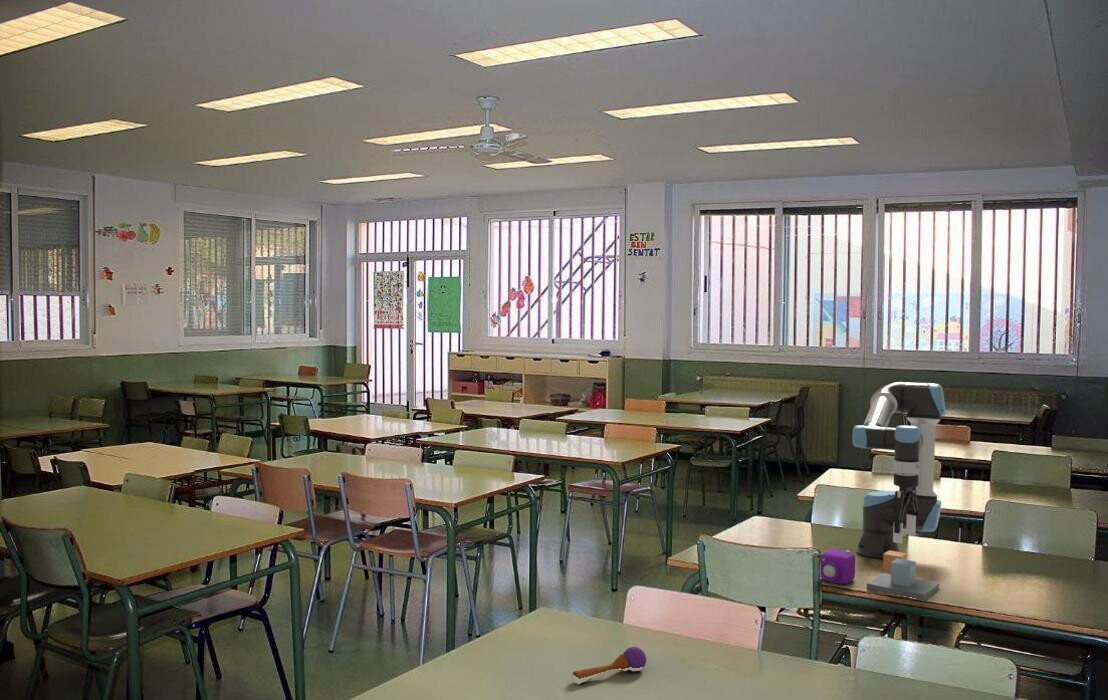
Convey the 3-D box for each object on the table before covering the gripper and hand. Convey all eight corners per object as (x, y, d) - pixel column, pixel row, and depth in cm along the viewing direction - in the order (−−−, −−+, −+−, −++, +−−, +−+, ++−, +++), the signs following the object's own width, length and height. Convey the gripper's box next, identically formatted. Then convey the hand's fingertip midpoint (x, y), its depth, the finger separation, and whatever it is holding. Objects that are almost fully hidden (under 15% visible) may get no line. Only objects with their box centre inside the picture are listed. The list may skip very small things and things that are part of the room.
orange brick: (883, 573, 309) (883, 553, 308) (888, 570, 313) (889, 550, 313) (900, 577, 305) (901, 556, 305) (906, 573, 310) (906, 553, 309)
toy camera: (815, 584, 295) (815, 554, 295) (823, 574, 307) (824, 545, 307) (848, 589, 290) (849, 559, 290) (856, 578, 302) (856, 549, 302)
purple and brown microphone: (568, 663, 216) (635, 642, 226) (571, 688, 215) (638, 666, 225) (581, 667, 210) (649, 645, 221) (584, 693, 210) (652, 670, 220)
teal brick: (890, 583, 290) (891, 562, 290) (896, 579, 295) (897, 558, 295) (909, 587, 287) (910, 565, 286) (915, 582, 291) (915, 561, 291)
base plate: (866, 589, 290) (866, 583, 290) (883, 578, 303) (883, 572, 303) (924, 601, 279) (924, 594, 279) (938, 589, 292) (939, 583, 291)
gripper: (906, 480, 277) (904, 548, 278) (929, 470, 297) (927, 533, 298) (881, 477, 282) (879, 544, 283) (906, 467, 302) (904, 529, 302)
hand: (904, 538), depth 290 cm, fingers open, 13 cm apart
